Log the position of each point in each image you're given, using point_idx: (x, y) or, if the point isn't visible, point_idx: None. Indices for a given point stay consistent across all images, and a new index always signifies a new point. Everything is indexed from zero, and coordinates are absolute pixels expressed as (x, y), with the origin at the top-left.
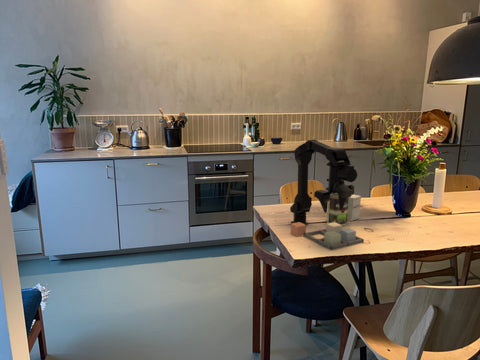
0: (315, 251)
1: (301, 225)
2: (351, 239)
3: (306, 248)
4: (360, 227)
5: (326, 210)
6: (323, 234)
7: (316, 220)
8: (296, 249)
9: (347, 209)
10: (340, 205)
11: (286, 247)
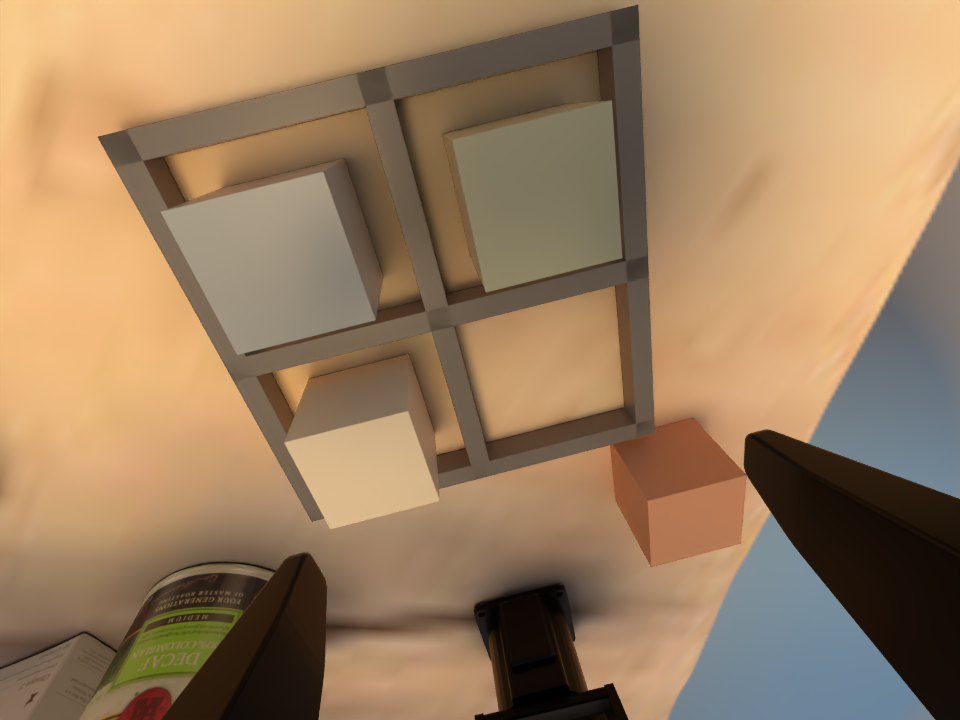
0: (783, 44)
1: (691, 496)
2: (272, 178)
3: (802, 154)
4: (33, 515)
5: (808, 457)
6: (476, 410)
7: (377, 655)
8: (892, 157)
9: None
10: (301, 674)
11: (923, 227)
